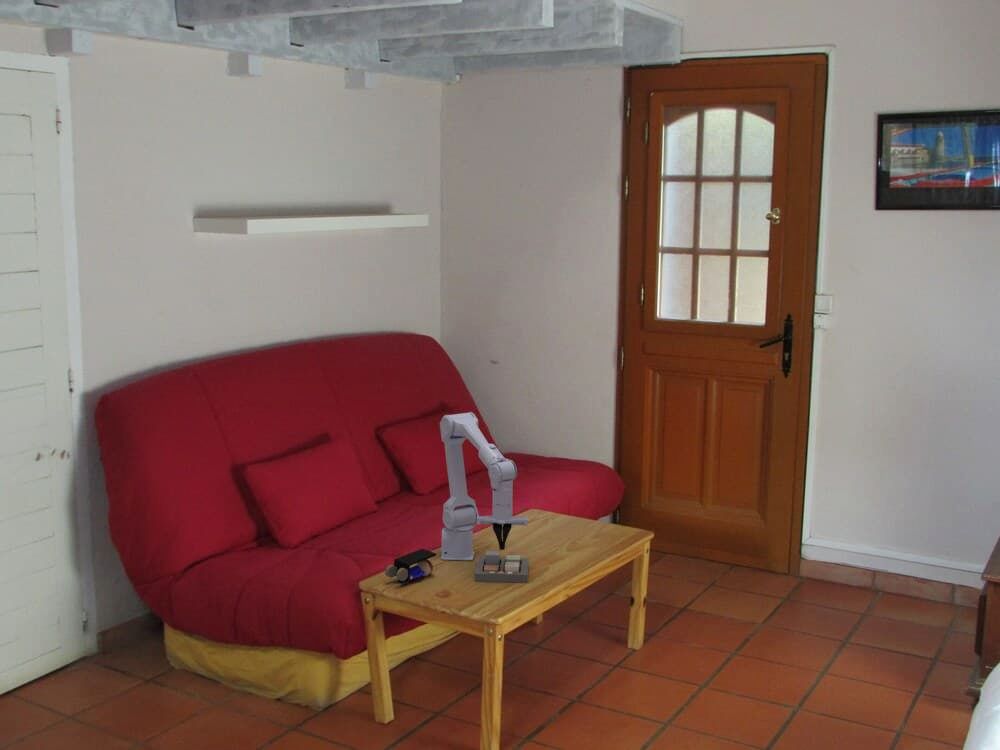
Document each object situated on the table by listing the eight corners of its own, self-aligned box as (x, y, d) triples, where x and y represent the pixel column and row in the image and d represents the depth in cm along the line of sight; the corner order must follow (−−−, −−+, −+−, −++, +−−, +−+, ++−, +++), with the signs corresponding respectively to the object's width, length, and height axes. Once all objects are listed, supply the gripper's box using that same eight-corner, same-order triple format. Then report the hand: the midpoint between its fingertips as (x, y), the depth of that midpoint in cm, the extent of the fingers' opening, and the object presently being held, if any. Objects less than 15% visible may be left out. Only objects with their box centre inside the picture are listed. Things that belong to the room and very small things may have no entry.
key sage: (505, 569, 335) (505, 559, 334) (506, 565, 339) (506, 555, 338) (519, 570, 335) (519, 559, 334) (520, 565, 338) (520, 555, 338)
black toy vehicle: (402, 593, 321) (439, 575, 332) (399, 568, 319) (437, 550, 330) (385, 588, 325) (422, 569, 336) (383, 563, 323) (420, 545, 334)
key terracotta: (483, 576, 329) (483, 569, 329) (484, 571, 333) (484, 565, 333) (497, 576, 329) (497, 569, 329) (498, 572, 333) (498, 565, 333)
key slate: (485, 565, 335) (485, 555, 334) (486, 561, 339) (486, 550, 338) (499, 566, 335) (499, 555, 334) (499, 561, 339) (499, 551, 338)
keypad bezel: (474, 581, 327) (474, 572, 327) (478, 564, 342) (478, 556, 341) (527, 583, 326) (527, 574, 326) (528, 565, 341) (528, 557, 340)
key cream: (504, 573, 329) (504, 566, 328) (505, 568, 333) (505, 561, 332) (518, 573, 328) (518, 566, 328) (519, 568, 332) (519, 562, 332)
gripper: (475, 505, 324) (475, 552, 326) (527, 507, 323) (526, 553, 325) (478, 499, 331) (477, 544, 333) (528, 500, 330) (527, 546, 332)
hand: (502, 548), depth 329 cm, fingers closed
